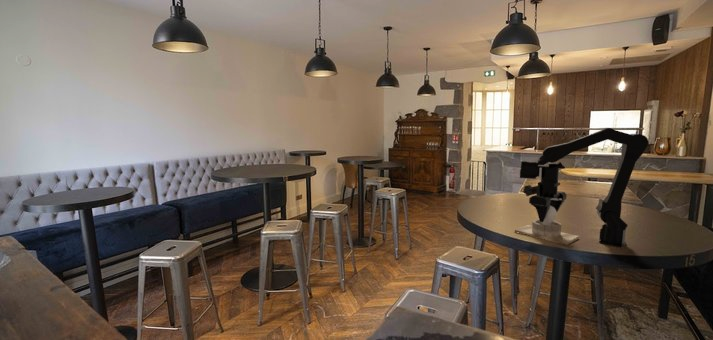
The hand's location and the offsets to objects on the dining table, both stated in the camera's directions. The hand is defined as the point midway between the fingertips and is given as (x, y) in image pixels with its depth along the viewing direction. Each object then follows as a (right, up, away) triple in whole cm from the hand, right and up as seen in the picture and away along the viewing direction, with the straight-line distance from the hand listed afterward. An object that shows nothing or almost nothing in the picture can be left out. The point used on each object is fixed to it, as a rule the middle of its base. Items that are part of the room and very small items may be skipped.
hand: (546, 219), depth 131 cm
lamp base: (0, -6, +1) cm, 6 cm away
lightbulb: (0, -5, +1) cm, 5 cm away
